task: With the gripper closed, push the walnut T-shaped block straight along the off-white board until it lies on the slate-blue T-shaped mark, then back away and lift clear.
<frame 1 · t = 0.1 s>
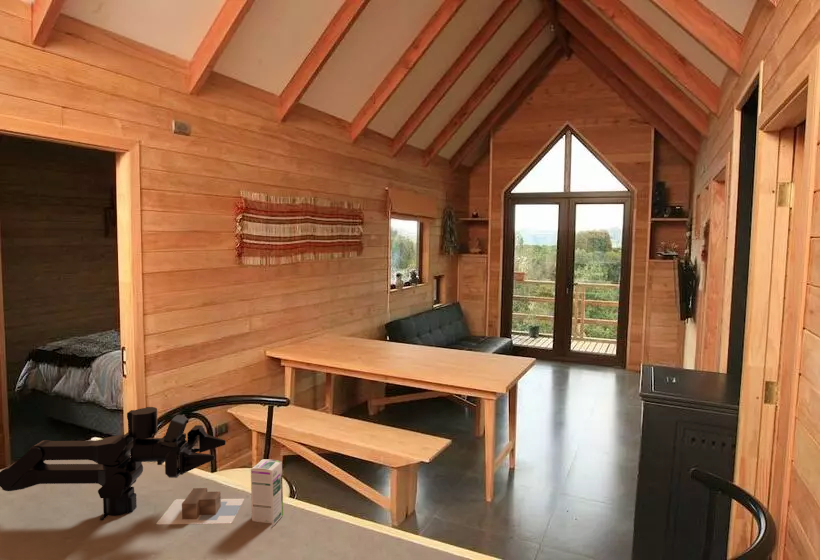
hand: (220, 449, 132), 17 cm above the table, tool horizontal, fingers open, 9 cm apart
syrup box: (267, 520, 130), on the table
walnut T block: (195, 510, 132), point 1 cm above the table, touching target board
target board: (202, 514, 133), on the table
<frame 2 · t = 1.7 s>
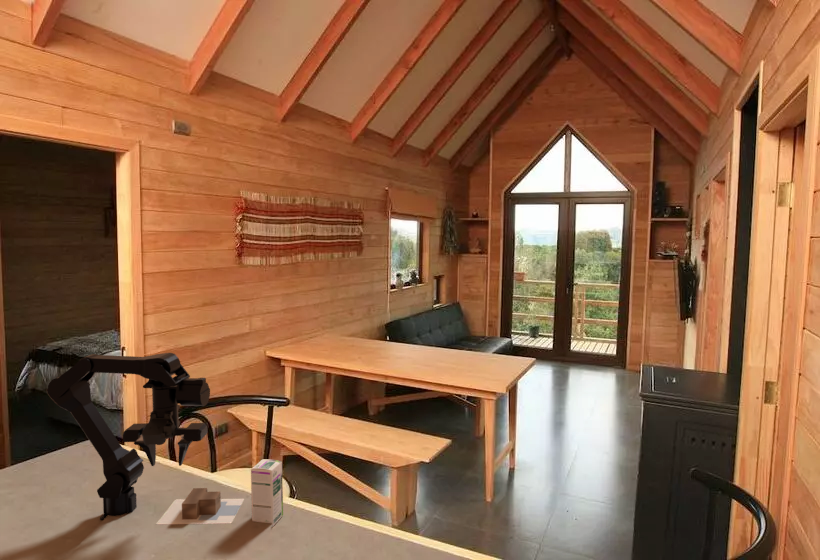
hand: (167, 465, 131), 13 cm above the table, tool pointing down, fingers open, 6 cm apart
nothing on the table moved.
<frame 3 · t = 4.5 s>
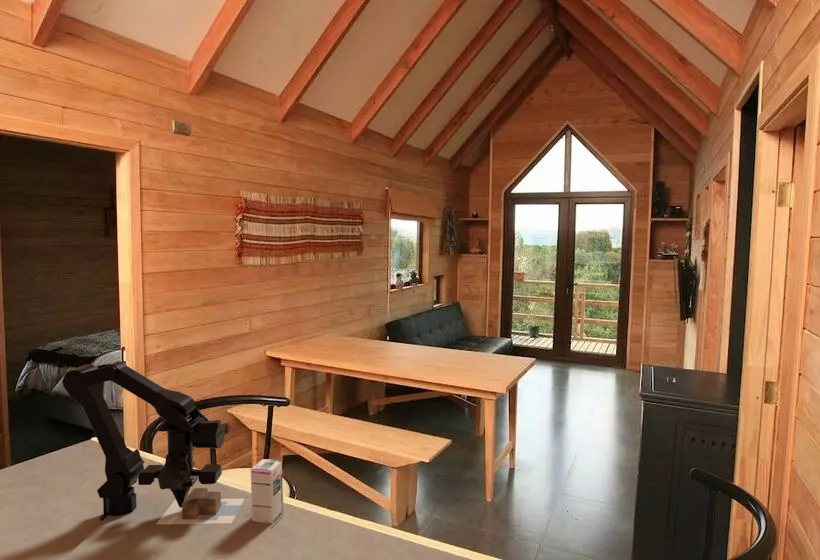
hand: (181, 506, 132), 2 cm above the table, tool pointing down, fingers closed
walnut T block: (195, 510, 132), point 1 cm above the table, touching gripper
everything else where it was.
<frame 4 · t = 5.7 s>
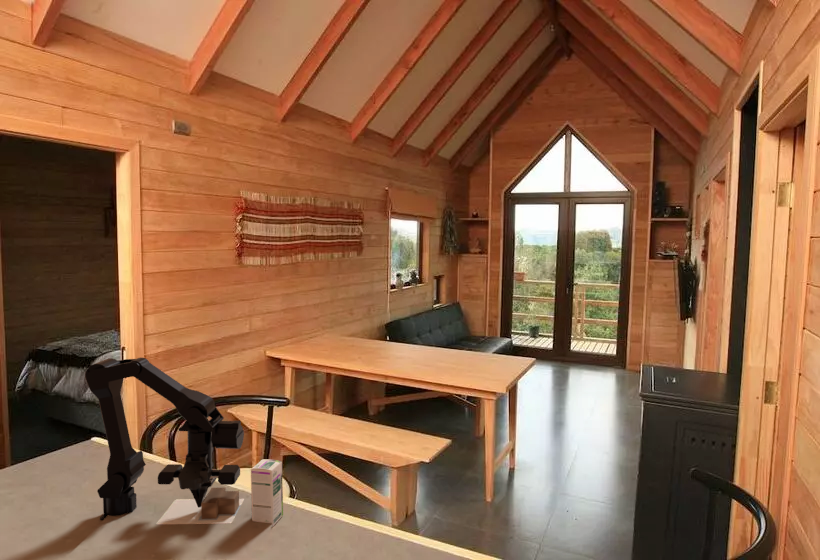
hand: (200, 506, 132), 2 cm above the table, tool pointing down, fingers closed
walnut T block: (214, 510, 133), point 1 cm above the table, touching gripper, target board
everything else where it was.
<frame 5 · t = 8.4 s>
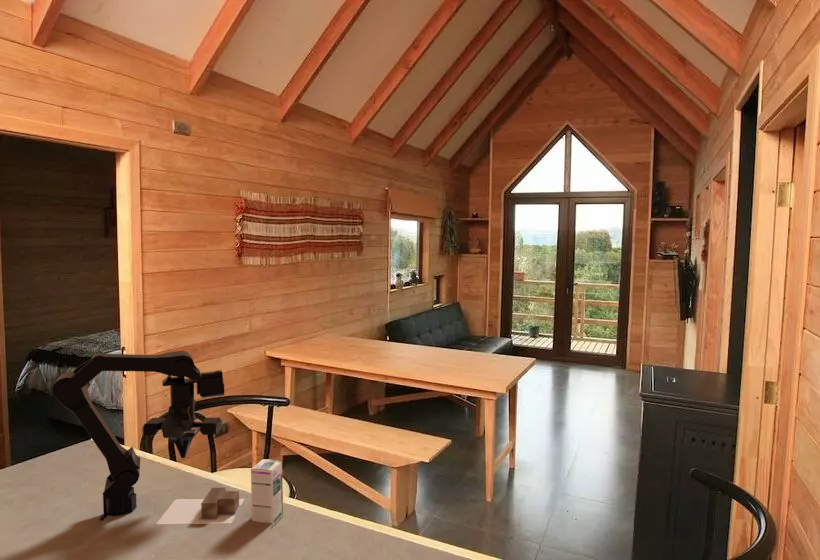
hand: (183, 457, 138), 12 cm above the table, tool pointing down, fingers closed
walnut T block: (214, 510, 133), point 1 cm above the table, touching target board
everything else where it was.
at the end: walnut T block 0.2 cm from the target spot, point 1.0 cm above the table; walnut T block tilted 0° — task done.
